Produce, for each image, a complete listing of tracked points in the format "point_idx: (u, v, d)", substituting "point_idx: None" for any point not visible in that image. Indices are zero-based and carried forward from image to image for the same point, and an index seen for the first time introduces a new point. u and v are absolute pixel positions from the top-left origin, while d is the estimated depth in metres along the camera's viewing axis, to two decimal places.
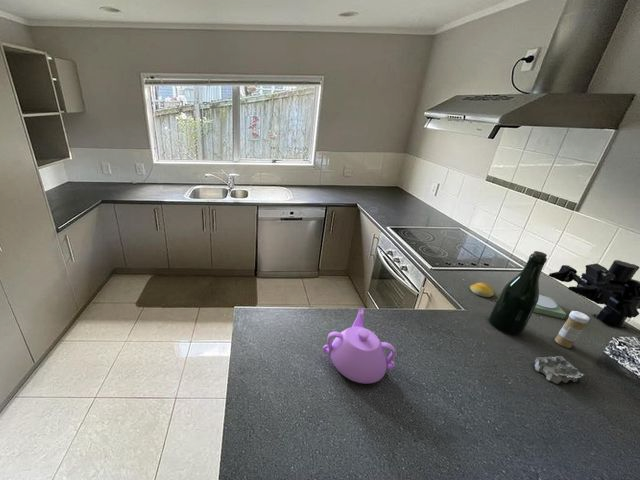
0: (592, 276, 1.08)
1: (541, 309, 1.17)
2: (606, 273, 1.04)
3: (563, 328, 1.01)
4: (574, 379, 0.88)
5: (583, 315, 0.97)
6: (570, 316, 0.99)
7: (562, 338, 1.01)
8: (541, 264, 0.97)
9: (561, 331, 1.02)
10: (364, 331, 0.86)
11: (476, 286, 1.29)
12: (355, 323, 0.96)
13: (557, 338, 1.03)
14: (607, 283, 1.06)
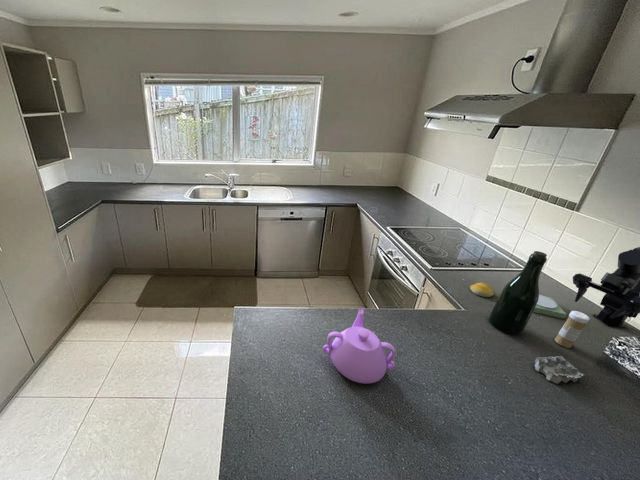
0: (614, 285, 0.98)
1: (541, 309, 1.17)
2: (629, 285, 0.93)
3: (563, 328, 1.01)
4: (574, 379, 0.88)
5: (583, 315, 0.97)
6: (570, 316, 0.99)
7: (562, 338, 1.01)
8: (541, 264, 0.97)
9: (561, 331, 1.02)
10: (364, 331, 0.86)
11: (476, 286, 1.29)
12: (355, 323, 0.96)
13: (557, 338, 1.03)
14: None
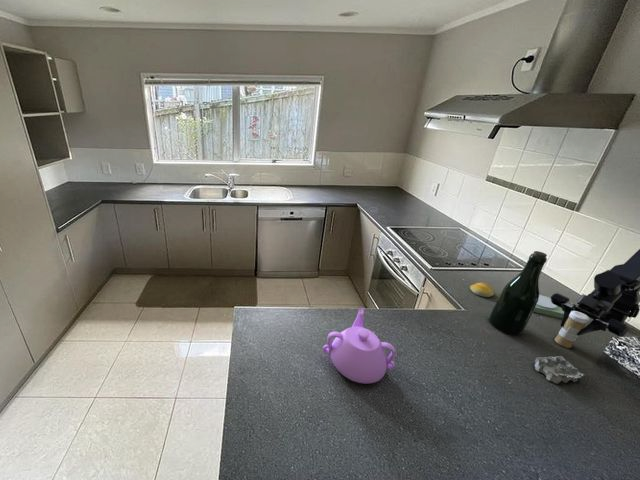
0: (590, 306, 0.97)
1: (541, 309, 1.17)
2: (604, 308, 0.93)
3: (563, 328, 1.01)
4: (574, 379, 0.88)
5: (583, 315, 0.97)
6: (570, 316, 0.99)
7: (562, 338, 1.01)
8: (541, 264, 0.97)
9: (561, 331, 1.02)
10: (364, 331, 0.86)
11: (476, 286, 1.29)
12: (355, 323, 0.96)
13: (557, 338, 1.03)
14: None
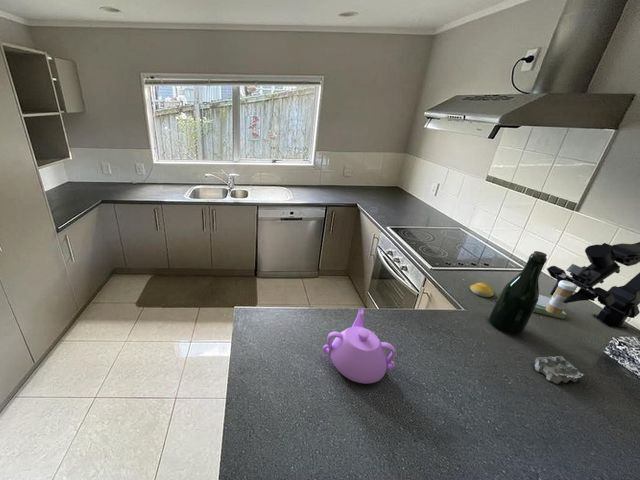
0: (580, 276, 1.02)
1: (541, 309, 1.17)
2: (589, 275, 0.98)
3: (552, 296, 1.07)
4: (574, 379, 0.88)
5: (571, 284, 1.03)
6: (558, 284, 1.05)
7: (550, 306, 1.07)
8: (541, 264, 0.97)
9: None
10: (364, 331, 0.86)
11: (476, 286, 1.29)
12: (355, 323, 0.96)
13: (547, 306, 1.09)
14: (598, 275, 1.00)
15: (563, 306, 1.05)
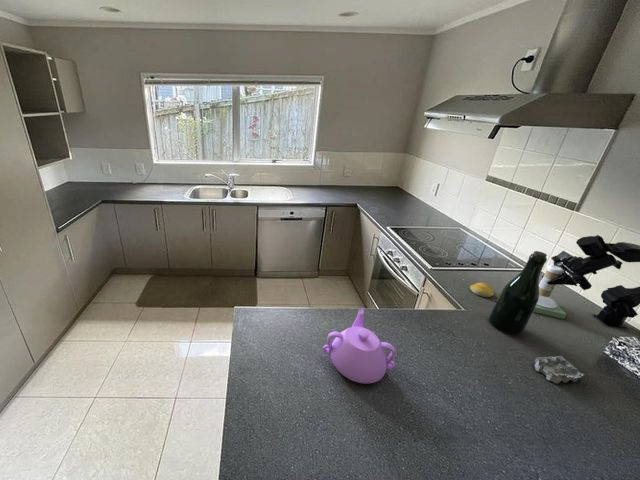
0: (569, 263, 1.13)
1: (541, 309, 1.17)
2: (569, 260, 1.10)
3: None
4: (574, 379, 0.88)
5: (558, 268, 1.15)
6: None
7: None
8: (541, 264, 0.97)
9: None
10: (364, 331, 0.86)
11: (476, 286, 1.29)
12: (355, 323, 0.96)
13: None
14: (587, 263, 1.09)
15: (548, 288, 1.17)
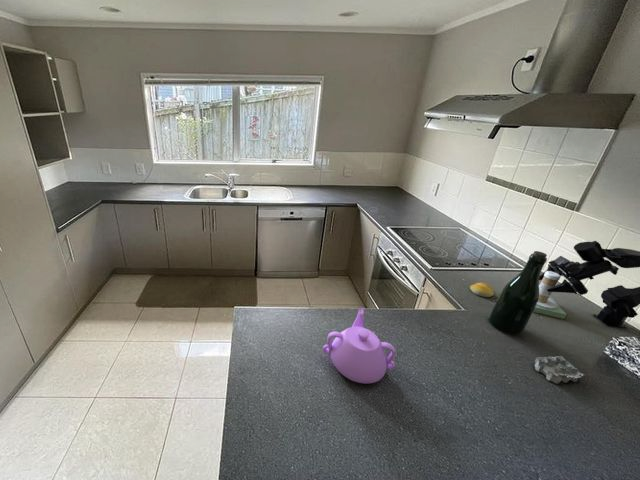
0: None
1: (541, 309, 1.17)
2: (566, 265, 1.11)
3: None
4: (574, 379, 0.88)
5: (555, 274, 1.16)
6: None
7: None
8: (541, 264, 0.97)
9: None
10: (364, 331, 0.86)
11: (476, 286, 1.29)
12: (355, 323, 0.96)
13: None
14: (583, 269, 1.10)
15: (545, 293, 1.18)
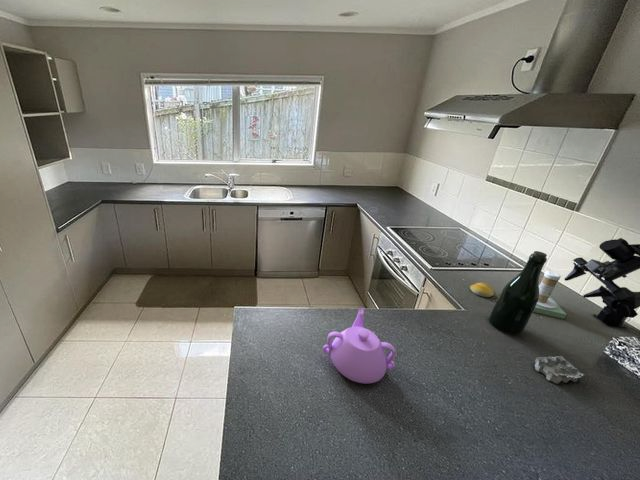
0: None
1: (541, 309, 1.17)
2: (603, 272, 1.05)
3: None
4: (574, 379, 0.88)
5: (555, 274, 1.16)
6: None
7: None
8: (541, 264, 0.97)
9: None
10: (364, 331, 0.86)
11: (476, 286, 1.29)
12: (355, 323, 0.96)
13: None
14: (618, 270, 1.05)
15: (545, 293, 1.18)
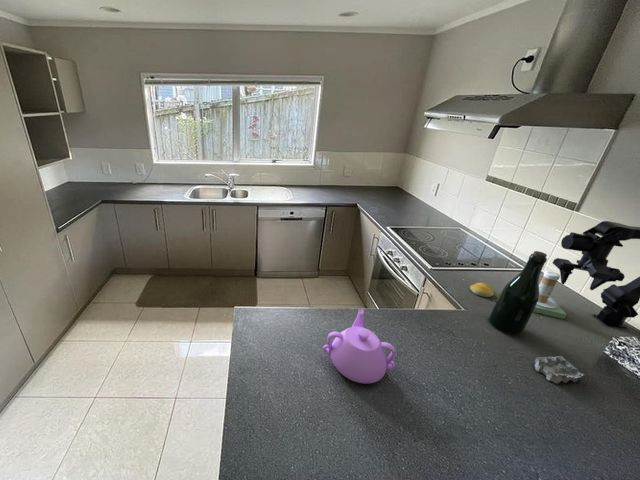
0: None
1: (541, 309, 1.17)
2: None
3: None
4: (574, 379, 0.88)
5: (555, 274, 1.16)
6: None
7: None
8: (541, 264, 0.97)
9: None
10: (364, 331, 0.86)
11: (476, 286, 1.29)
12: (355, 323, 0.96)
13: None
14: None
15: (545, 293, 1.18)
